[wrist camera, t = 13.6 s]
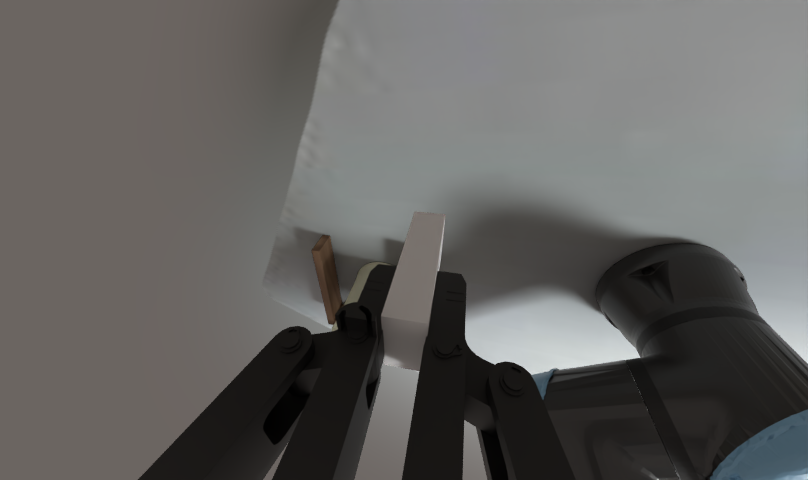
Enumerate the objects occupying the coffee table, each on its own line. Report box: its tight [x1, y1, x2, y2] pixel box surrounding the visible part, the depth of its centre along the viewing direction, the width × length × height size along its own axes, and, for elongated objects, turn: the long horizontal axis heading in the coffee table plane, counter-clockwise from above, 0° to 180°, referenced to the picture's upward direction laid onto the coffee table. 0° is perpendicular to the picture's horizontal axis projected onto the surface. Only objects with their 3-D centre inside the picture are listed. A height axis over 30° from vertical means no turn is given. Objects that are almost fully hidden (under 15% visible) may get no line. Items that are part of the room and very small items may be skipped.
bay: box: [312, 235, 344, 325], centre depth 48 cm, size 15×17×4 cm
